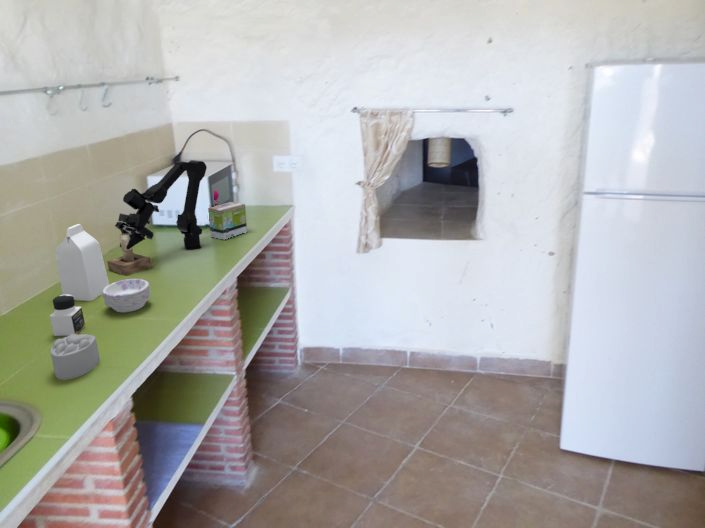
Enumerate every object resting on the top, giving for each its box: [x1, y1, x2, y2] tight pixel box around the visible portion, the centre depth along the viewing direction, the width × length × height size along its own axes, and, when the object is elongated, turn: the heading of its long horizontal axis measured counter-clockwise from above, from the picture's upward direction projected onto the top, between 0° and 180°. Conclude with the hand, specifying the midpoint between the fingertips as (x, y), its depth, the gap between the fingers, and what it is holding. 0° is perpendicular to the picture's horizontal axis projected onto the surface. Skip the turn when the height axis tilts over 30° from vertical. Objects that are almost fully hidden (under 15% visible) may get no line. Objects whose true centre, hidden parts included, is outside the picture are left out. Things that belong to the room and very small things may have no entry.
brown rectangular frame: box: [107, 252, 152, 276], centre depth 248 cm, size 12×12×4 cm
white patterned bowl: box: [102, 278, 152, 313], centre depth 208 cm, size 15×15×8 cm
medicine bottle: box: [49, 294, 86, 337], centre depth 191 cm, size 7×7×12 cm
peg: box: [119, 233, 134, 263], centre depth 245 cm, size 4×4×12 cm
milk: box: [55, 223, 110, 302], centre depth 219 cm, size 12×12×26 cm
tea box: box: [207, 201, 248, 241], centre depth 287 cm, size 15×10×15 cm
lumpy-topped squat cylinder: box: [50, 333, 101, 381], centre depth 168 cm, size 10×13×9 cm
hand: (123, 248), depth 244 cm, fingers closed on peg, 4 cm apart
